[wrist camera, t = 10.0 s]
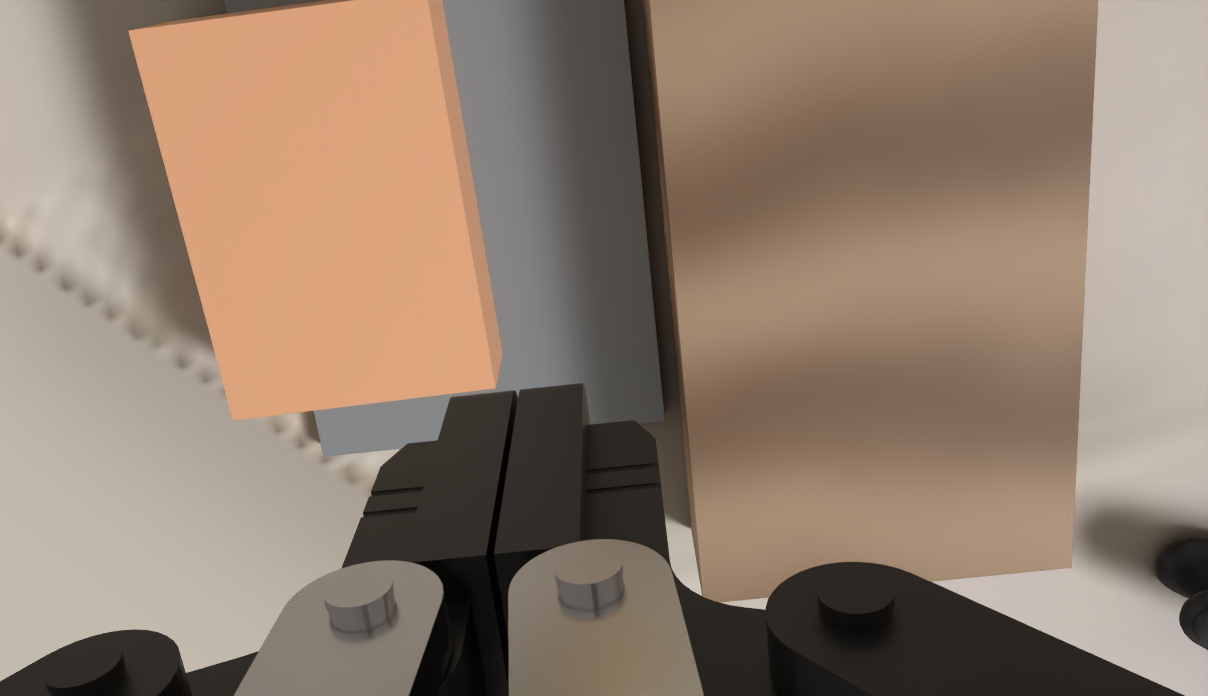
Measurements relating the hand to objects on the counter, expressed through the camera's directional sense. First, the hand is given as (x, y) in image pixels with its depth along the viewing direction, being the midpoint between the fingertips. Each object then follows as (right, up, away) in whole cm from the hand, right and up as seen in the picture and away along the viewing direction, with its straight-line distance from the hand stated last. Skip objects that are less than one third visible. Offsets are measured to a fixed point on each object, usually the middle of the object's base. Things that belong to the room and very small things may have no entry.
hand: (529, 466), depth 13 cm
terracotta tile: (-6, +5, +16) cm, 18 cm away
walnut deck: (+7, +7, +17) cm, 20 cm away
